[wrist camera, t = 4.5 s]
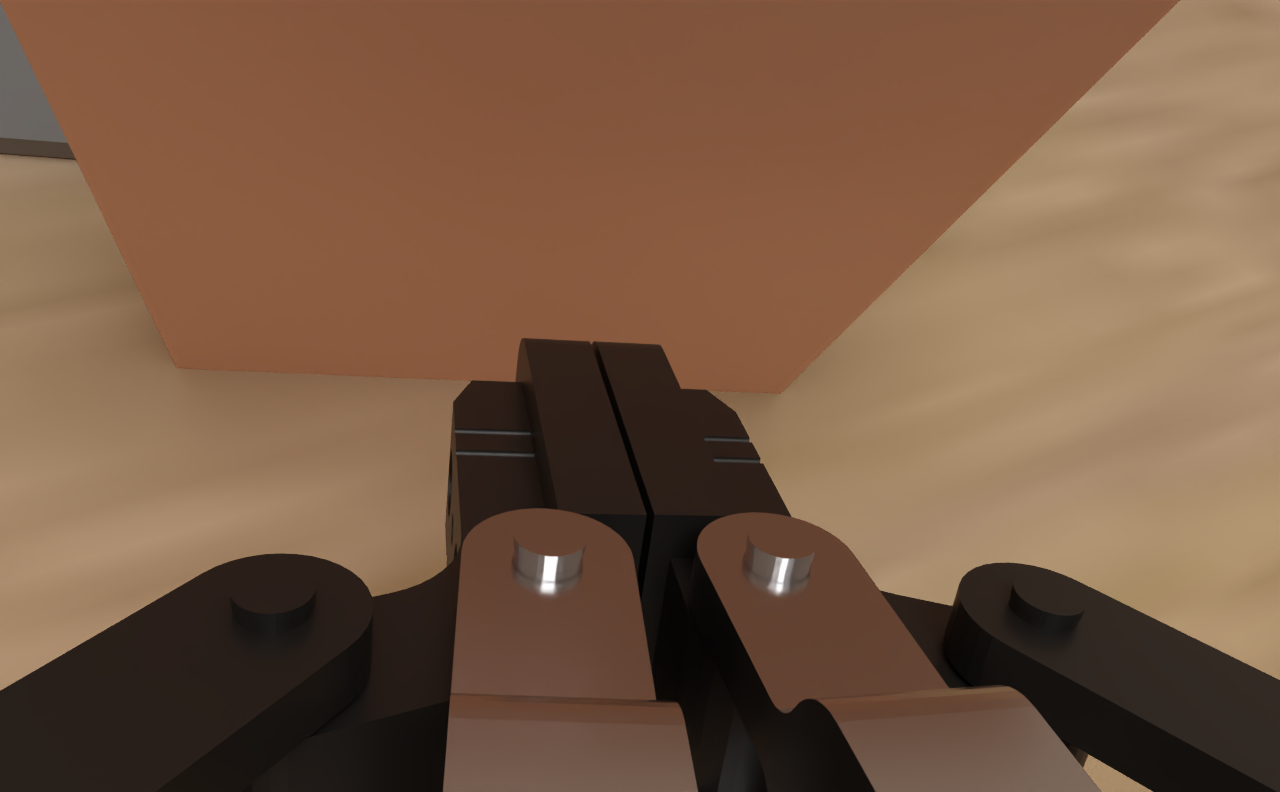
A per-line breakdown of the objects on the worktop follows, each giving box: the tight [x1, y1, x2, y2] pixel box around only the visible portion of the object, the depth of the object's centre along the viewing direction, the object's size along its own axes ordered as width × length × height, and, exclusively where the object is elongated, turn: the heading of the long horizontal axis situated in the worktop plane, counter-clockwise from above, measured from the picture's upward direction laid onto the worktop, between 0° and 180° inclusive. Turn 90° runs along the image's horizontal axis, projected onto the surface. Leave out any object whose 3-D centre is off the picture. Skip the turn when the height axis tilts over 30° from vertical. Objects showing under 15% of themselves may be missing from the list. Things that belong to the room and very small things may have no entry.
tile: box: [0, 0, 1180, 394], centre depth 16 cm, size 12×3×16 cm, turn 92°
